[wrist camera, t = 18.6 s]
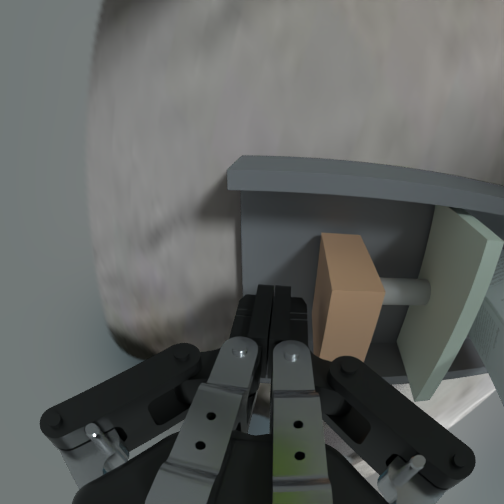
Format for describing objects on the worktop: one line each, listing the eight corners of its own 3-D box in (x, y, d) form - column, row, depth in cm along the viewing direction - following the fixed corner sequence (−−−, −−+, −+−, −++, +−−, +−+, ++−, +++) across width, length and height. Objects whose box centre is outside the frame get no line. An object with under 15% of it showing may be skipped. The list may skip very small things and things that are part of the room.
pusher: (451, 200, 13) (505, 242, 8) (409, 340, 17) (429, 401, 13) (324, 186, 14) (340, 228, 9) (307, 340, 18) (307, 407, 13)
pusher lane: (556, 201, 12) (587, 221, 9) (505, 336, 17) (522, 365, 14) (242, 155, 14) (226, 170, 11) (245, 339, 20) (236, 380, 17)
